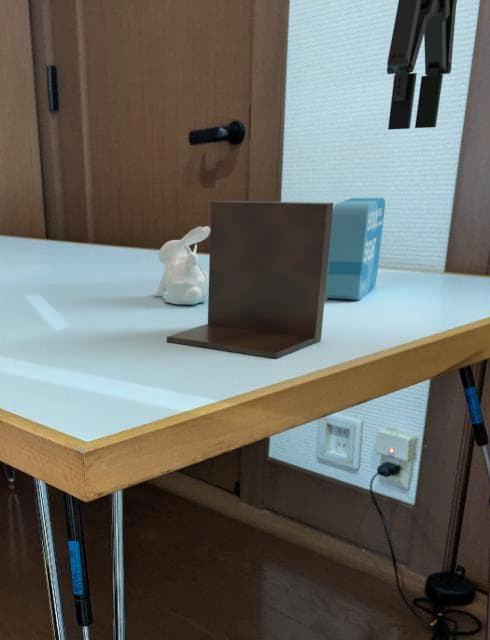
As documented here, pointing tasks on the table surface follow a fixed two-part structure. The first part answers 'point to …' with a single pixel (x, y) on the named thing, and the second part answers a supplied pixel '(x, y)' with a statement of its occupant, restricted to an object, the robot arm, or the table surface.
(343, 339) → the table surface
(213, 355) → the table surface
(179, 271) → the rabbit figurine
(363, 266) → the data package
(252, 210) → the bookend
